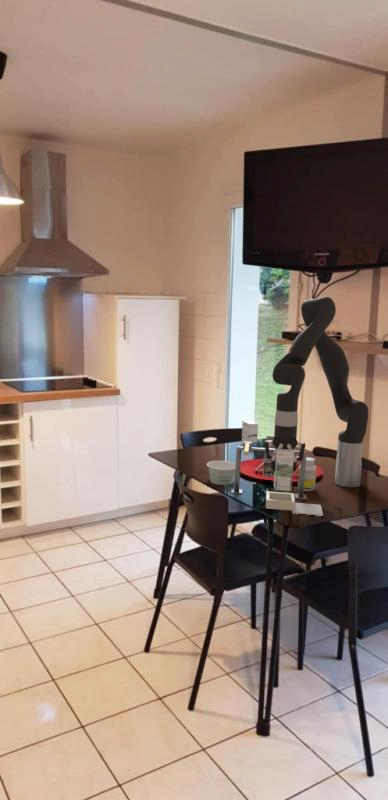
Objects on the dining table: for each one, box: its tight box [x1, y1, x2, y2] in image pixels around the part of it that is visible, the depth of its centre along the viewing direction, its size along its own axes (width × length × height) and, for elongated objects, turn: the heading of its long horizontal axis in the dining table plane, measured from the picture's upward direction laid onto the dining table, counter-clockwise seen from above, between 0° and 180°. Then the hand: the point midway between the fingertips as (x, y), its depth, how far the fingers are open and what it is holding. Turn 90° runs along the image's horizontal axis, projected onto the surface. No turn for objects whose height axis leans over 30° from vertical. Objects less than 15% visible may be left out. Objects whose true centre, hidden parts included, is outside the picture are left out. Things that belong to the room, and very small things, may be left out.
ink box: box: [241, 419, 259, 448], centre depth 291 cm, size 9×5×12 cm, turn 17°
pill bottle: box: [297, 456, 317, 492], centre depth 229 cm, size 6×6×12 cm
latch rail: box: [230, 445, 308, 501], centre depth 220 cm, size 27×4×17 cm, turn 83°
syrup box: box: [273, 449, 294, 492], centre depth 209 cm, size 6×6×14 cm
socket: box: [265, 490, 296, 512], centre depth 211 cm, size 10×10×3 cm
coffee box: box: [262, 435, 276, 478], centre depth 240 cm, size 9×6×16 cm
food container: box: [206, 460, 236, 486], centre depth 235 cm, size 12×12×6 cm
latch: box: [242, 441, 252, 456], centre depth 213 cm, size 3×15×2 cm, turn 173°
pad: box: [291, 502, 324, 517], centre depth 207 cm, size 10×10×1 cm
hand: (283, 471), depth 209 cm, fingers closed on syrup box, 6 cm apart
